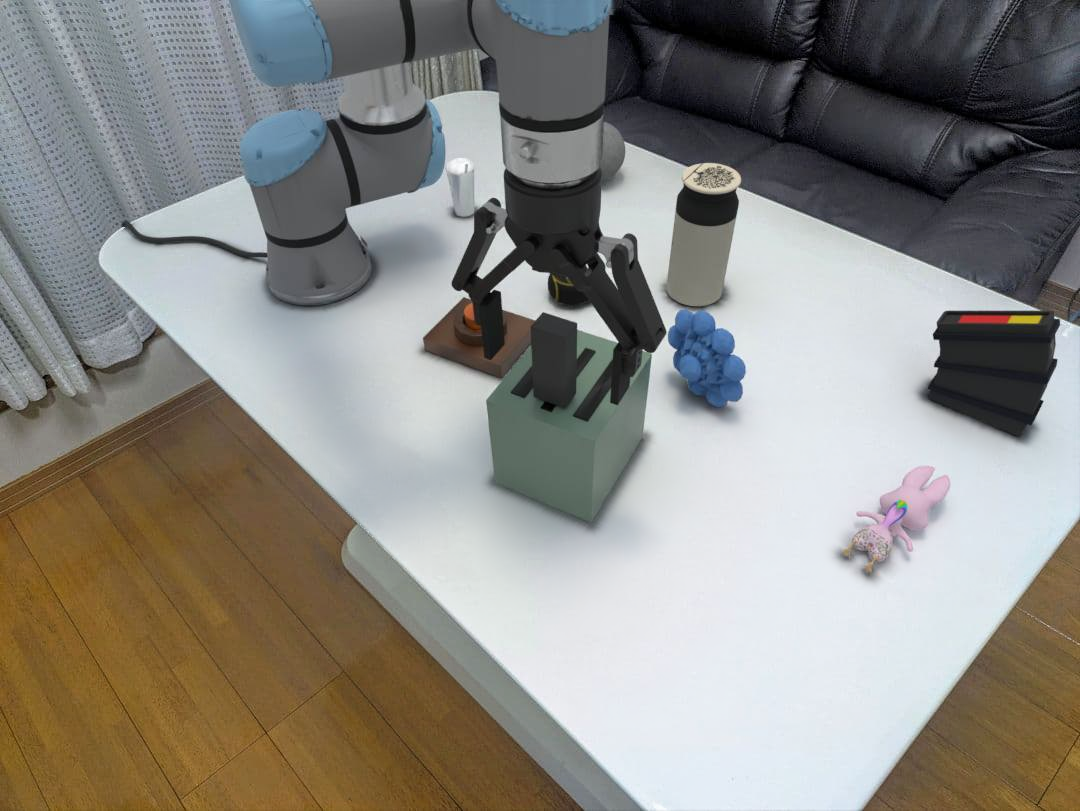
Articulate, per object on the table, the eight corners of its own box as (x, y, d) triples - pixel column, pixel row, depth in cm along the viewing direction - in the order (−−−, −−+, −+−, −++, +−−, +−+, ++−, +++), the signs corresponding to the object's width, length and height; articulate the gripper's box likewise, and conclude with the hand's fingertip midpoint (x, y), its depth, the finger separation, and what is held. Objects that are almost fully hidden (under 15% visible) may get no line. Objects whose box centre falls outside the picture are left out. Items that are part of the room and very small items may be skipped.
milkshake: (459, 224, 120) (453, 167, 113) (447, 209, 124) (440, 153, 117) (484, 217, 122) (479, 160, 115) (471, 202, 125) (466, 146, 118)
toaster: (494, 482, 82) (485, 398, 73) (553, 403, 91) (551, 319, 81) (591, 523, 78) (594, 440, 69) (642, 436, 86) (652, 352, 77)
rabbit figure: (880, 591, 73) (963, 497, 78) (893, 564, 68) (981, 466, 73) (825, 551, 76) (909, 463, 81) (835, 523, 72) (923, 431, 77)
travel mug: (732, 289, 106) (755, 174, 93) (701, 315, 102) (720, 199, 89) (686, 268, 110) (703, 155, 97) (655, 292, 106) (667, 178, 93)
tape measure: (602, 304, 104) (603, 283, 102) (556, 314, 103) (556, 293, 100) (585, 278, 109) (586, 256, 106) (541, 287, 108) (541, 266, 105)
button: (459, 325, 96) (457, 314, 95) (475, 308, 99) (474, 298, 97) (485, 334, 95) (484, 323, 94) (501, 317, 97) (500, 306, 96)
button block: (424, 350, 98) (420, 327, 95) (465, 309, 104) (462, 286, 102) (501, 378, 94) (499, 355, 91) (538, 333, 100) (538, 310, 97)
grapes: (641, 384, 93) (648, 309, 84) (678, 361, 96) (689, 286, 87) (711, 436, 86) (727, 360, 78) (748, 409, 89) (768, 333, 81)
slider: (533, 397, 72) (530, 326, 66) (544, 382, 74) (542, 311, 68) (565, 409, 71) (565, 338, 65) (576, 393, 73) (577, 322, 66)
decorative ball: (627, 167, 132) (631, 113, 125) (619, 195, 126) (622, 139, 119) (573, 163, 134) (573, 108, 127) (562, 190, 127) (561, 134, 120)
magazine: (1056, 443, 82) (1050, 326, 75) (930, 429, 92) (914, 325, 85) (1065, 424, 84) (1059, 309, 77) (940, 412, 94) (926, 309, 87)
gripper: (389, 153, 58) (426, 356, 73) (691, 230, 49) (661, 442, 64) (443, 115, 62) (467, 314, 77) (728, 179, 53) (692, 389, 68)
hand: (555, 372), depth 71 cm, fingers open, 13 cm apart
